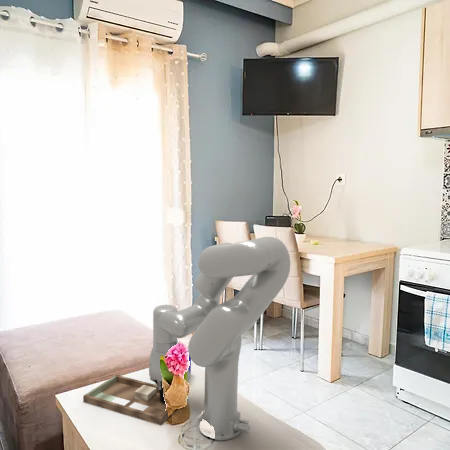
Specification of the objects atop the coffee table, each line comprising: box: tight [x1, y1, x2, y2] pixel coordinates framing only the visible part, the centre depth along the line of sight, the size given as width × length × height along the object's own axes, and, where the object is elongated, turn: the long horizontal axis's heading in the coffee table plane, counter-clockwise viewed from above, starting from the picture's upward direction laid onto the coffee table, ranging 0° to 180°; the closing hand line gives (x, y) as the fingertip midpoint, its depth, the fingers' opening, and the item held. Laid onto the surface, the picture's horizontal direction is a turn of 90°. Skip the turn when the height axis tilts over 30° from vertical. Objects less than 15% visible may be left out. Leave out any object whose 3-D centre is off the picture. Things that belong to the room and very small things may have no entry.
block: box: [135, 385, 157, 403], centre depth 132 cm, size 5×5×2 cm
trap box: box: [83, 374, 169, 426], centre depth 130 cm, size 29×16×4 cm, turn 66°
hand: (165, 400), depth 129 cm, fingers closed
